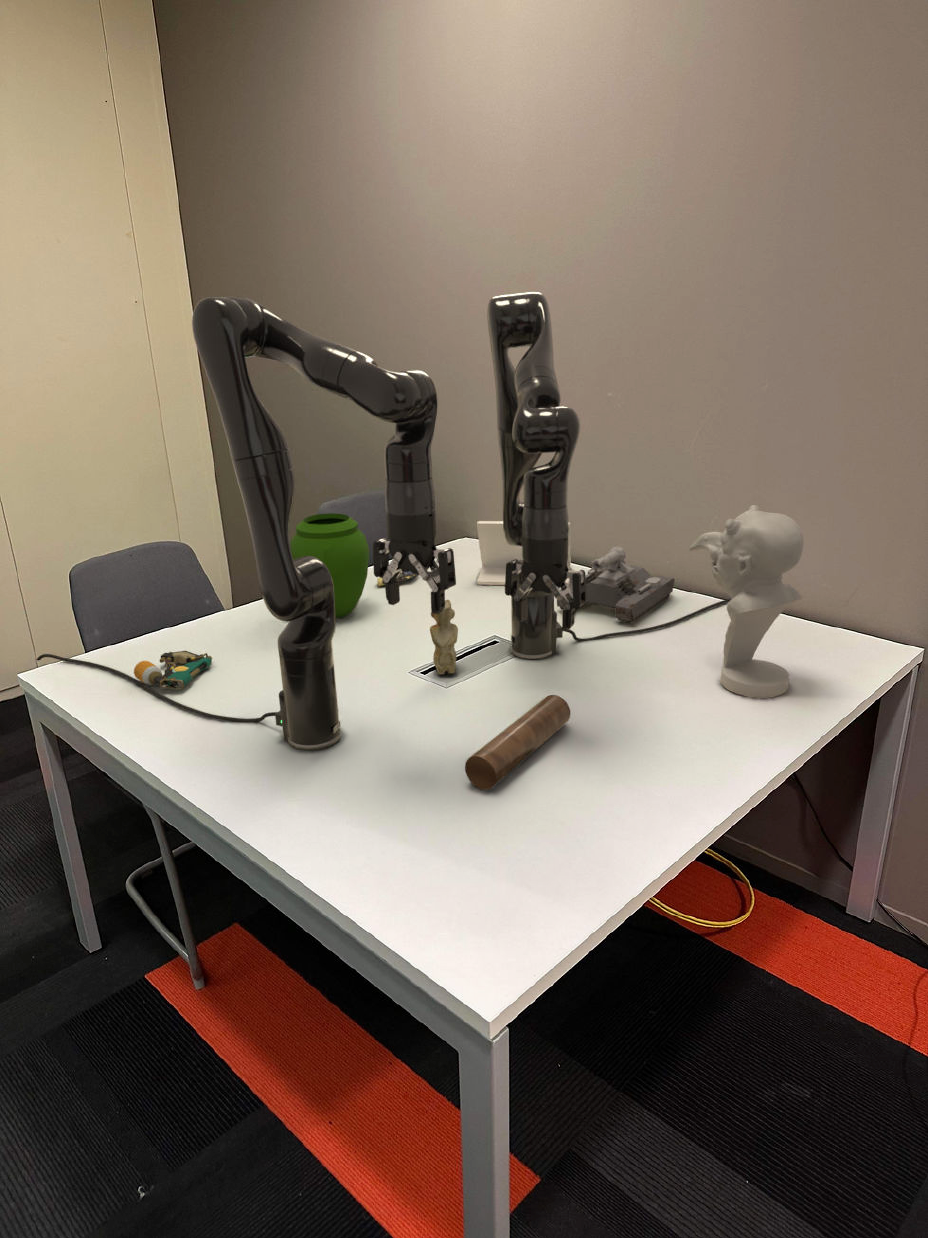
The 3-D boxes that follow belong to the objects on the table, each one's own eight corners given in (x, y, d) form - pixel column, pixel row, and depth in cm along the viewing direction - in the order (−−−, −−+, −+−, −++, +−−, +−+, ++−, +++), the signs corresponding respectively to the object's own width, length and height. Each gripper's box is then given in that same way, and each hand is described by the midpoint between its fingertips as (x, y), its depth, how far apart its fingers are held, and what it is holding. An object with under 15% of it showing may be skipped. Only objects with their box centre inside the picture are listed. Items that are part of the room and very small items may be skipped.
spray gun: (177, 659, 191) (231, 671, 185) (120, 684, 176) (176, 698, 171) (176, 641, 190) (230, 653, 184) (118, 665, 175) (174, 678, 169)
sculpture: (458, 662, 183) (456, 596, 178) (460, 676, 176) (457, 608, 171) (431, 663, 183) (428, 597, 177) (431, 677, 176) (428, 609, 171)
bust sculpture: (721, 647, 187) (735, 489, 174) (811, 688, 167) (833, 512, 154) (664, 663, 180) (674, 499, 167) (750, 707, 160) (769, 525, 147)
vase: (389, 608, 216) (383, 514, 208) (339, 633, 201) (330, 533, 192) (330, 596, 226) (322, 506, 218) (278, 619, 211) (267, 523, 202)
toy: (603, 584, 229) (605, 530, 224) (673, 597, 218) (677, 540, 213) (555, 612, 210) (556, 553, 205) (630, 627, 199) (633, 566, 194)
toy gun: (374, 578, 232) (409, 575, 230) (392, 563, 250) (425, 560, 247) (376, 588, 232) (411, 585, 230) (394, 572, 250) (427, 569, 248)
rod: (541, 720, 157) (541, 691, 155) (570, 728, 154) (571, 698, 152) (465, 784, 138) (464, 751, 136) (496, 794, 135) (495, 761, 132)
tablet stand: (569, 585, 229) (570, 524, 223) (476, 584, 232) (475, 523, 226) (570, 566, 246) (571, 508, 240) (484, 564, 249) (483, 507, 243)
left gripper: (358, 507, 130) (365, 607, 136) (434, 518, 123) (438, 623, 128) (388, 498, 136) (394, 594, 142) (463, 507, 128) (466, 608, 134)
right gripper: (496, 532, 140) (497, 624, 146) (574, 542, 133) (572, 639, 138) (519, 522, 146) (519, 611, 152) (595, 532, 139) (592, 625, 144)
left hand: (415, 608), depth 135 cm, fingers open, 8 cm apart
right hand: (544, 624), depth 145 cm, fingers open, 8 cm apart
